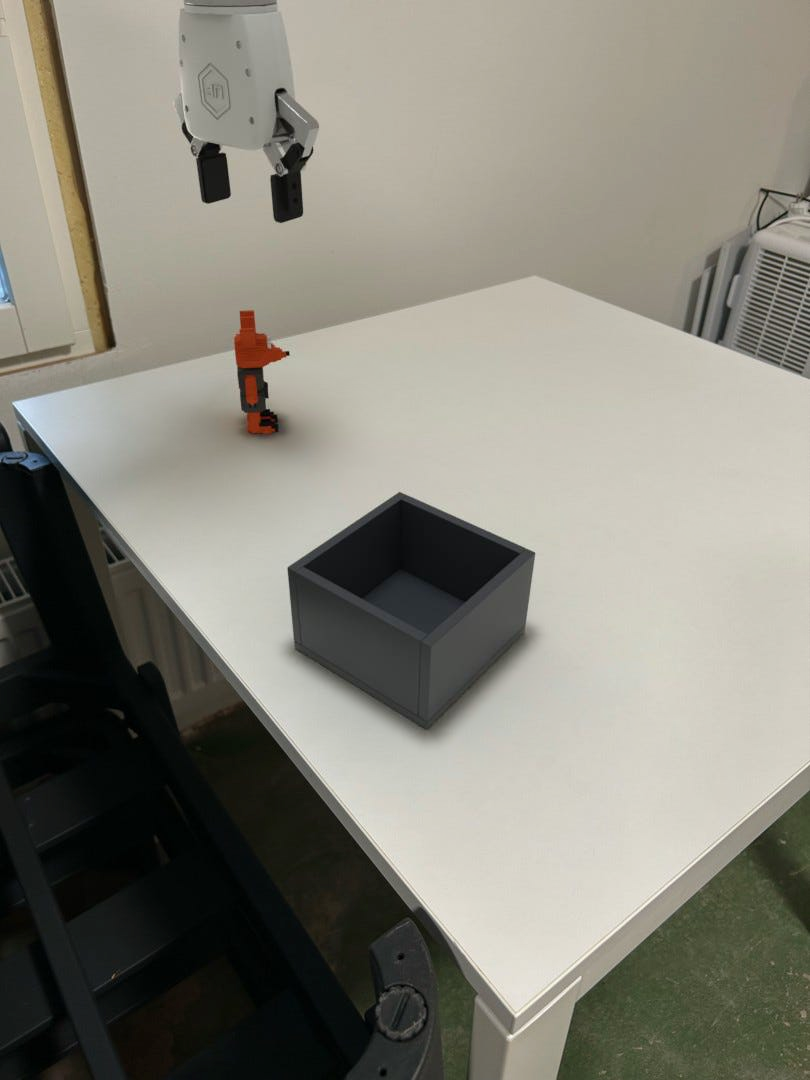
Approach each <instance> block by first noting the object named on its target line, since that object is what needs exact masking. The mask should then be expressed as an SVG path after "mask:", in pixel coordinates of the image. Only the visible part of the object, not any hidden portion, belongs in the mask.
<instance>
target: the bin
mask: <svg viewBox="0 0 810 1080" xmlns="http://www.w3.org/2000/svg"><path fill="white" fill-rule="evenodd" d="M535 559H536V552H535V551H534V550H531V549H530V548H529V549H528V548H526V547H524V546H523V545H519V544H518V543H516V542H513V541H511V540H508V539H506V538H504V537H502V536H500V535H497V534H495V533H493V532H492V531H488V530H486V529H484V528H481V527H480V526H478V525H475V524H473V523H471V522H469V521H466V520H464V519H462V518H459V517H457V516H455V515H453V514H450V513H449V512H446V511H444V510H442V509H440V508H438V507H435V506H433V505H430V504H428V503H426V502H423V501H422V500H420V499H417V498H415V497H413V496H410V495H407V494H406V493H403V492H402V491H398V492H397V493H396V494H394V495H393V496H391V497H390V498H388V499H387V500H385V501H383V502H382V503H381V504H379V505H377V506H376V507H374V508H373V509H372V510H370V511H368V512H367V513H366V514H364V515H363V516H362V517H360V518H358V519H356V520H355V521H354V522H353V523H351V524H349V525H348V526H347V527H345V528H343V529H342V530H341V531H339V532H338V533H336V534H334V535H333V536H332V537H330V538H329V539H327V540H326V541H324V542H323V543H321V544H320V545H318V546H317V547H315V548H314V549H312V550H311V551H309V552H308V553H306V554H305V555H303V556H302V557H301V558H299V559H297V560H296V561H294V562H293V563H292V564H290V565H288V566H287V569H286V570H287V580H288V589H289V601H290V602H289V603H290V614H291V623H292V624H291V625H292V633H293V635H292V636H293V643H294V645H293V646H294V649H296V650H297V651H299V652H300V653H301V654H304V655H305V656H306V657H309V658H310V659H312V660H313V661H315V662H317V663H318V664H320V665H322V666H323V667H325V668H327V669H328V670H330V671H332V672H333V673H335V674H336V675H338V676H339V677H341V678H343V679H344V680H346V681H347V682H349V683H351V684H352V685H354V686H356V687H357V688H358V689H360V690H362V691H364V692H365V693H367V694H368V695H370V696H371V697H373V698H375V699H377V700H378V701H380V702H381V703H383V704H385V705H386V706H387V707H390V708H391V709H393V710H395V711H396V712H397V713H399V714H400V715H402V716H405V717H406V718H408V719H409V720H410V721H412V722H414V723H415V724H417V725H419V726H420V727H422V728H424V729H425V730H428V729H429V728H431V726H433V724H434V723H435V722H436V721H438V719H439V718H440V717H441V716H442V715H443V714H444V713H445V712H446V711H448V709H449V708H451V706H453V704H454V703H455V702H456V701H457V700H458V699H459V698H460V697H461V696H462V695H463V694H464V693H465V692H466V691H467V690H468V689H469V688H470V687H472V685H473V684H474V683H475V682H476V681H477V680H478V679H479V678H481V676H482V675H483V674H484V673H485V672H487V670H488V669H489V668H490V667H492V665H493V664H494V663H495V662H496V661H498V659H500V658H501V656H503V654H504V653H505V652H506V651H507V650H508V649H509V648H510V647H512V645H513V644H514V643H515V642H517V640H518V639H519V638H520V637H521V636H522V635H523V634H524V633H525V631H526V625H527V619H528V618H527V617H528V610H529V604H530V603H529V602H530V596H531V588H532V582H533V573H534V567H535Z"/></svg>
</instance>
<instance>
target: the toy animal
mask: <svg viewBox="0 0 810 1080" xmlns="http://www.w3.org/2000/svg"><path fill="white" fill-rule="evenodd" d="M255 318H256V317H255V310H254V309H249V310H247V309H245V310H239V323H240V324H239V325H240V328H239V333H236V334H235V336H234V338H233V342H234V343H233V344H234V356H235V364H236V370H237V372H236V373H237V382H238V390H239V398H240V399H239V401H240V408H241V411H242V412H243V413H245V414H246V418H247V419H246V420H247V422H246V427H247V433H251V434H262V435H270V434H271V433H276V432H279V418H278V414H275V412H274V411H271V408H267V402H266V401H267V399H269V398H270V395H269V383H268V382H267V381H265V378H264V377H265V376H264V367H266V366H268V365H270V364H271V363H276V362H278V361H282V359H284V358H285V359H286V358H287V357H290V356H291V355H290V350H284V351H283V349H282V348H281V347H277V346H276V345H275V344H274V343H273V342H272V341H271V339H272V338H271V336H268V335H267V334H265V333H258V332H257V330H256V319H255Z"/></svg>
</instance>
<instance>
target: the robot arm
mask: <svg viewBox="0 0 810 1080" xmlns="http://www.w3.org/2000/svg"><path fill="white" fill-rule="evenodd" d="M183 6H184V7H182V8H180V9H179V17H178V18H179V19H178V57H179V58H178V60H179V61H178V62H179V77H180V86H181V87H180V88H181V93H180V94H178V95H177V96H176V97H175V98H173V100H172V103H173V104H172V105H173V108H174V110H175V113H176V115H177V118H178V119H179V123H180V124H181V131H182V134H183V135H184V137H185V139H186V140H187V141H188V143H189V144H190V145H189V151H190V154H191V155H192V157H194V158H195V162H196V169H197V177H198V184H199V190H200V191H199V192H200V199H201V202H202V203H204V204H207V205H208V204H209V205H210V204H213V203H216V202H220V201H224V200H227V199H229V198H230V197H231V195H232V192H231V183H230V174H229V173H230V172H229V166H228V165H229V164H228V157H227V153H226V152H221V150H222V148H223V146H225V147H230V148H235V149H240V150H245V151H258V150H261V149H262V151H263V153H264V155H265V156H266V158H267V160H268V162H269V163H270V166H271V167H272V169H273V170H274V172H275V173H274V174H270V179H269V181H270V191H271V204H272V215H273V220H274V221H275V223H279V224H283V223H286V222H289V221H293V220H295V219H299V218H302V217H303V215H304V201H303V188H302V187H303V186H302V185H303V184H302V172H303V171H305V170H306V168H307V163H308V161H309V160H310V159H311V157H312V156H313V154H314V146H315V143H316V140H317V137H318V133H319V130H320V124H319V122H318V120H317V119H316V118H315V117H314V116H313V115H311V113H309V112H308V110H306V109H305V108H304V107H303V106H302V105H301V104H299V103H298V102H297V101H296V93H295V83H294V74H293V67H292V61H291V54H290V49H289V43H288V38H287V33H286V28H285V23H284V19H283V15H282V11H280V10H278V8H279V7H278V0H183ZM280 148H281V149H282V150H283V151H284V153H285V154H284V155H283V154H282V153H281V151H280Z"/></svg>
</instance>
